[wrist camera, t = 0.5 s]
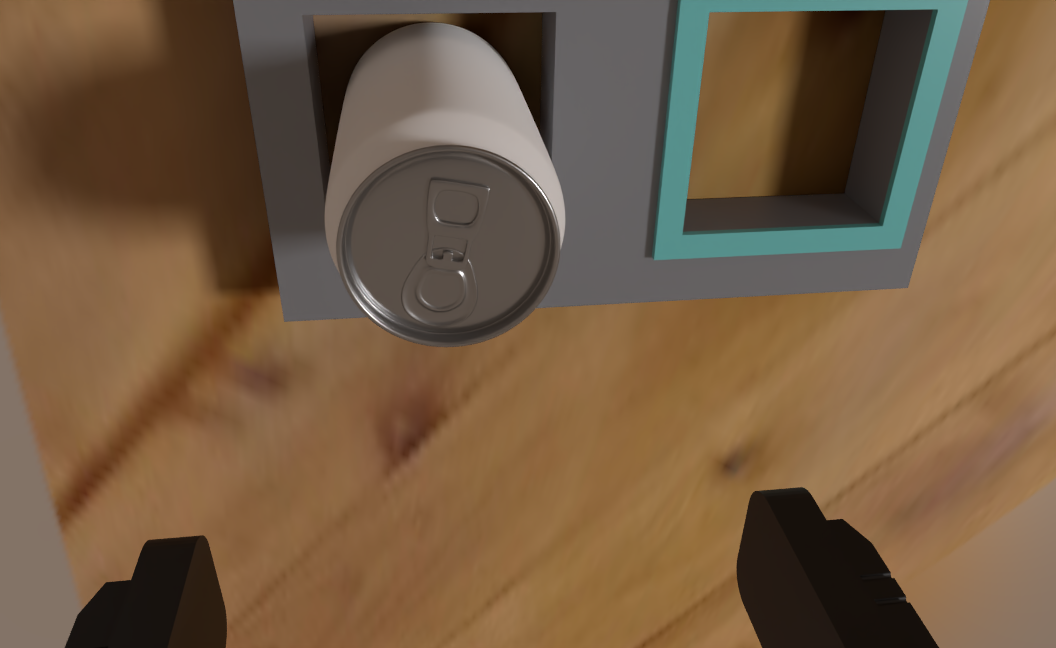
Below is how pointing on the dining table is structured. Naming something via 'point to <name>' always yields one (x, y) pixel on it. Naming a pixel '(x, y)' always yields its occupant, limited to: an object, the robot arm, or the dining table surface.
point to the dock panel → (640, 151)
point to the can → (441, 190)
